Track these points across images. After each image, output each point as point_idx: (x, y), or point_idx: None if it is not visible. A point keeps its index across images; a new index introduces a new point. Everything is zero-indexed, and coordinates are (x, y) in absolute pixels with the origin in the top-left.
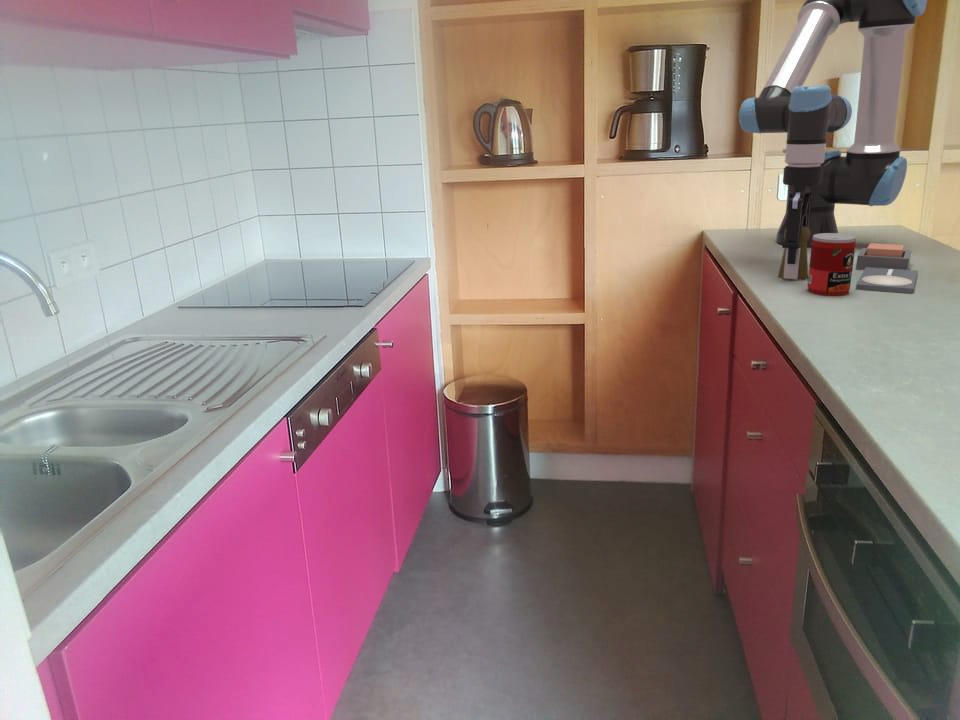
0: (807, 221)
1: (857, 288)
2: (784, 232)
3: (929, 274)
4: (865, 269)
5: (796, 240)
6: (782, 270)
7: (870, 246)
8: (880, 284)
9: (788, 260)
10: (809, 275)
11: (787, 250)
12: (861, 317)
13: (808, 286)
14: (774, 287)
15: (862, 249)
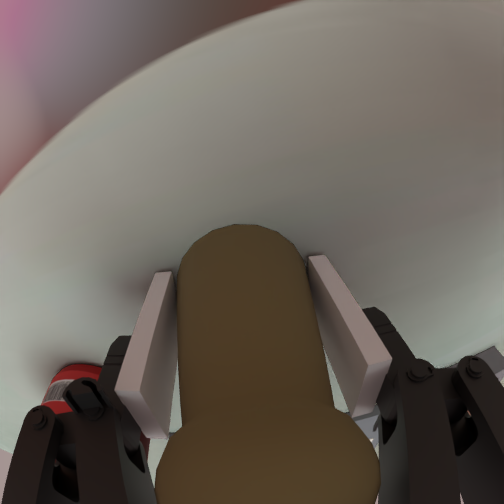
0: (463, 492)
1: (170, 436)
2: (211, 472)
3: (376, 452)
4: (367, 419)
5: (58, 472)
6: (188, 271)
7: (469, 413)
8: None
9: (110, 353)
10: (47, 399)
11: (121, 384)
12: (8, 420)
13: (59, 373)
14: (34, 274)
15: (499, 372)
